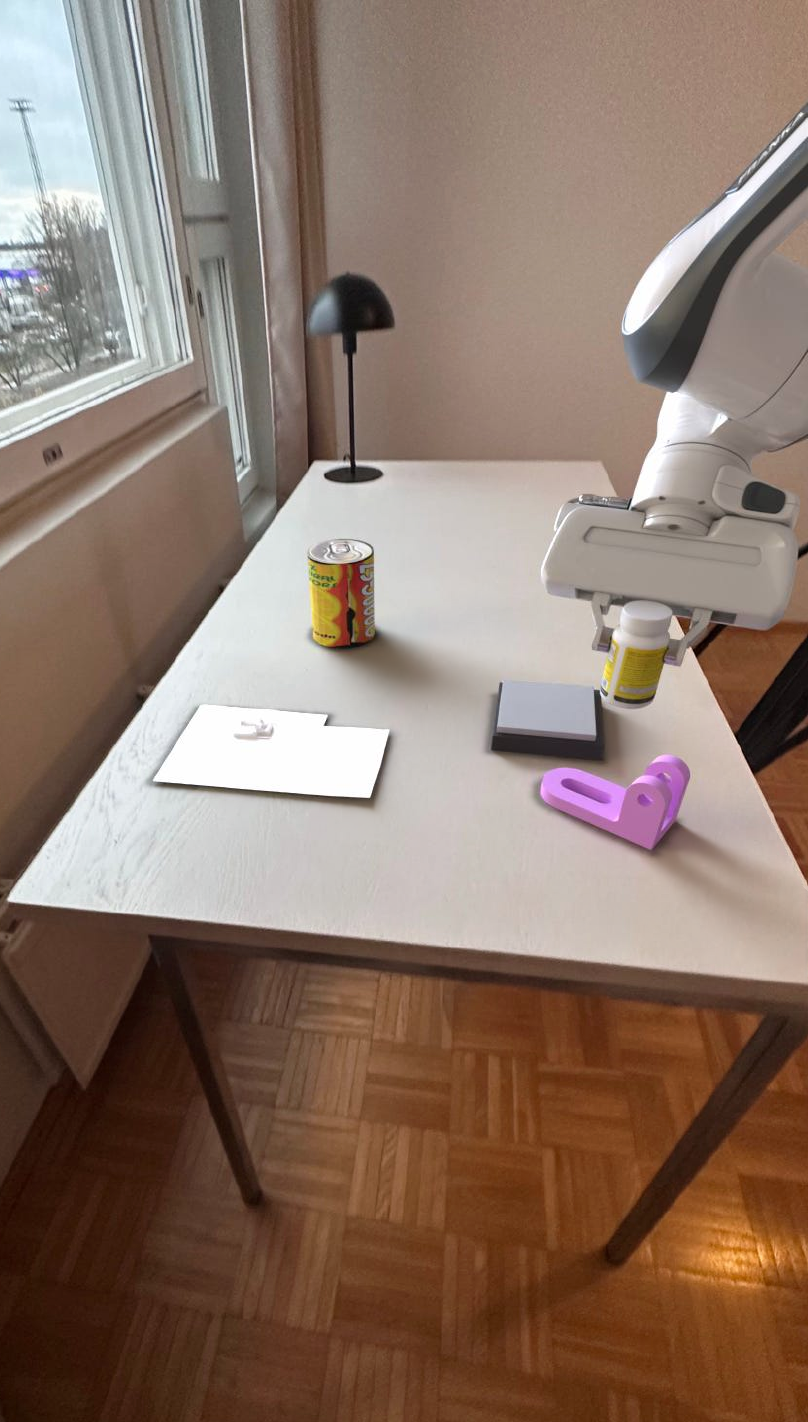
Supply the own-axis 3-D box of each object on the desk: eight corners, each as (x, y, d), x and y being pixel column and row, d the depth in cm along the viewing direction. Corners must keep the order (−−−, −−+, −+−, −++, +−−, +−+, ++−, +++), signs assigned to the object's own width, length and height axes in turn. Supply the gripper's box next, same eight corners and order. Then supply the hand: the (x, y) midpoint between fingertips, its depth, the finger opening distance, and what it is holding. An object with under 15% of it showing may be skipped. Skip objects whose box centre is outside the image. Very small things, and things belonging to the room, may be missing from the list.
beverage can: (318, 651, 102) (313, 566, 94) (308, 624, 109) (302, 542, 101) (381, 643, 103) (380, 559, 96) (367, 616, 110) (365, 535, 102)
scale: (597, 704, 89) (602, 683, 87) (601, 760, 80) (606, 739, 79) (497, 696, 91) (500, 676, 90) (490, 750, 83) (493, 729, 81)
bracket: (675, 820, 72) (694, 763, 68) (651, 850, 69) (669, 792, 65) (557, 771, 79) (567, 716, 75) (530, 796, 76) (539, 741, 72)
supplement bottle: (664, 700, 66) (690, 612, 61) (628, 716, 65) (652, 627, 59) (623, 678, 70) (644, 593, 64) (587, 693, 68) (606, 606, 62)
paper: (149, 788, 80) (147, 780, 79) (195, 705, 92) (193, 698, 92) (377, 801, 76) (377, 793, 76) (392, 713, 89) (392, 706, 88)
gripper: (563, 472, 65) (515, 621, 65) (823, 499, 57) (769, 668, 57) (567, 509, 71) (524, 645, 71) (804, 538, 63) (755, 691, 63)
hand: (635, 656), depth 64 cm, fingers closed on supplement bottle, 5 cm apart
